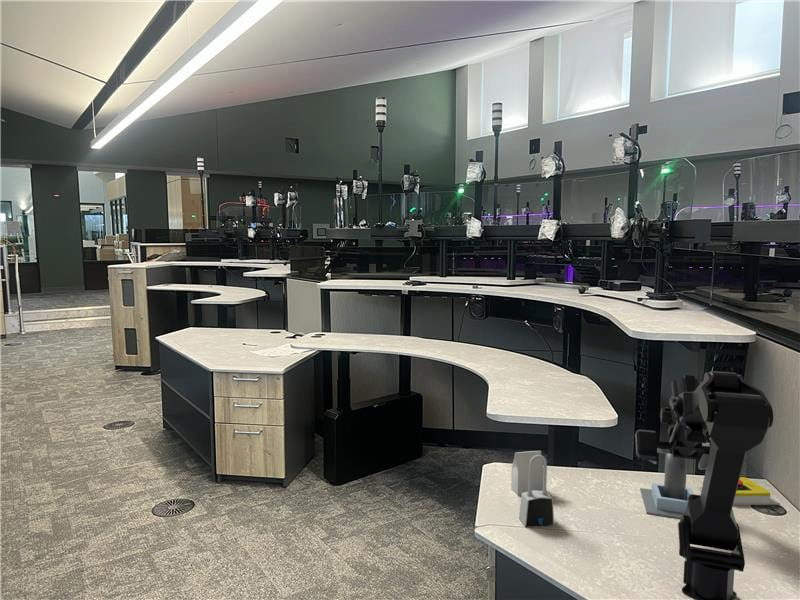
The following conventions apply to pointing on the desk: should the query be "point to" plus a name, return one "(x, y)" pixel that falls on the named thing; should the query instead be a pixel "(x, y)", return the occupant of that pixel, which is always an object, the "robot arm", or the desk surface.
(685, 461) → the plug
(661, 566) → the desk surface
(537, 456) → the padlock
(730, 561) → the robot arm
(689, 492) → the dock
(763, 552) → the desk surface
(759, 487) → the emergency button
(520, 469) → the grey chamfered block
